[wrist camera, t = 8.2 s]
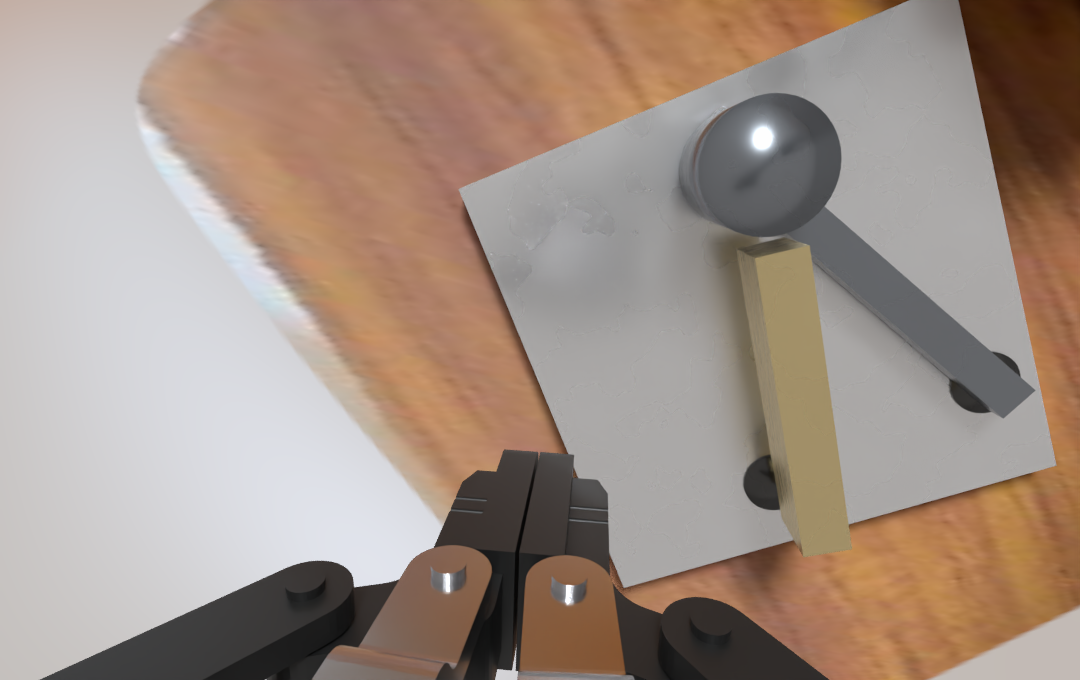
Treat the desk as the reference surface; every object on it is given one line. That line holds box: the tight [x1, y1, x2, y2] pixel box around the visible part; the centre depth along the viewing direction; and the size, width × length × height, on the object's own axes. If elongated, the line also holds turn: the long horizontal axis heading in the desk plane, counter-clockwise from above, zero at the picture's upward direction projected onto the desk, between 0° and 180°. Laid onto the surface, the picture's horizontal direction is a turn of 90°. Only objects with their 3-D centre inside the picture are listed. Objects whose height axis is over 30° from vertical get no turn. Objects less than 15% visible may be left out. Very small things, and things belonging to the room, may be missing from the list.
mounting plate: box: [459, 0, 1056, 588], centre depth 21 cm, size 18×18×5 cm
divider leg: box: [736, 237, 852, 557], centre depth 21 cm, size 10×2×4 cm, turn 14°
